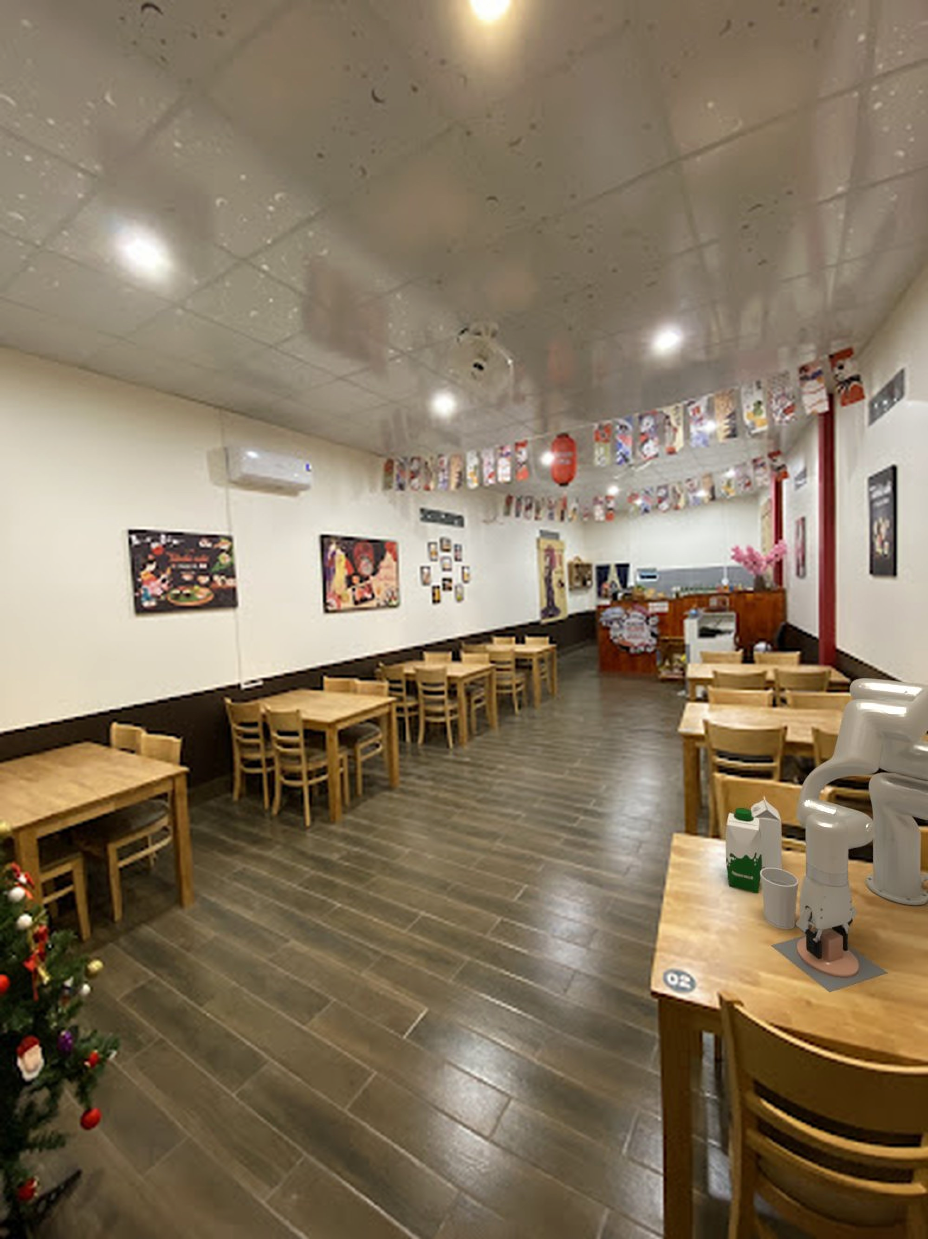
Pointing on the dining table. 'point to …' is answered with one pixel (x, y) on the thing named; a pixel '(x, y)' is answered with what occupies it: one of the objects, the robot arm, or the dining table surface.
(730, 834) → the soya milk
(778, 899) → the cup
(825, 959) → the lid
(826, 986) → the mat
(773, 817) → the milk carton
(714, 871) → the dining table surface
